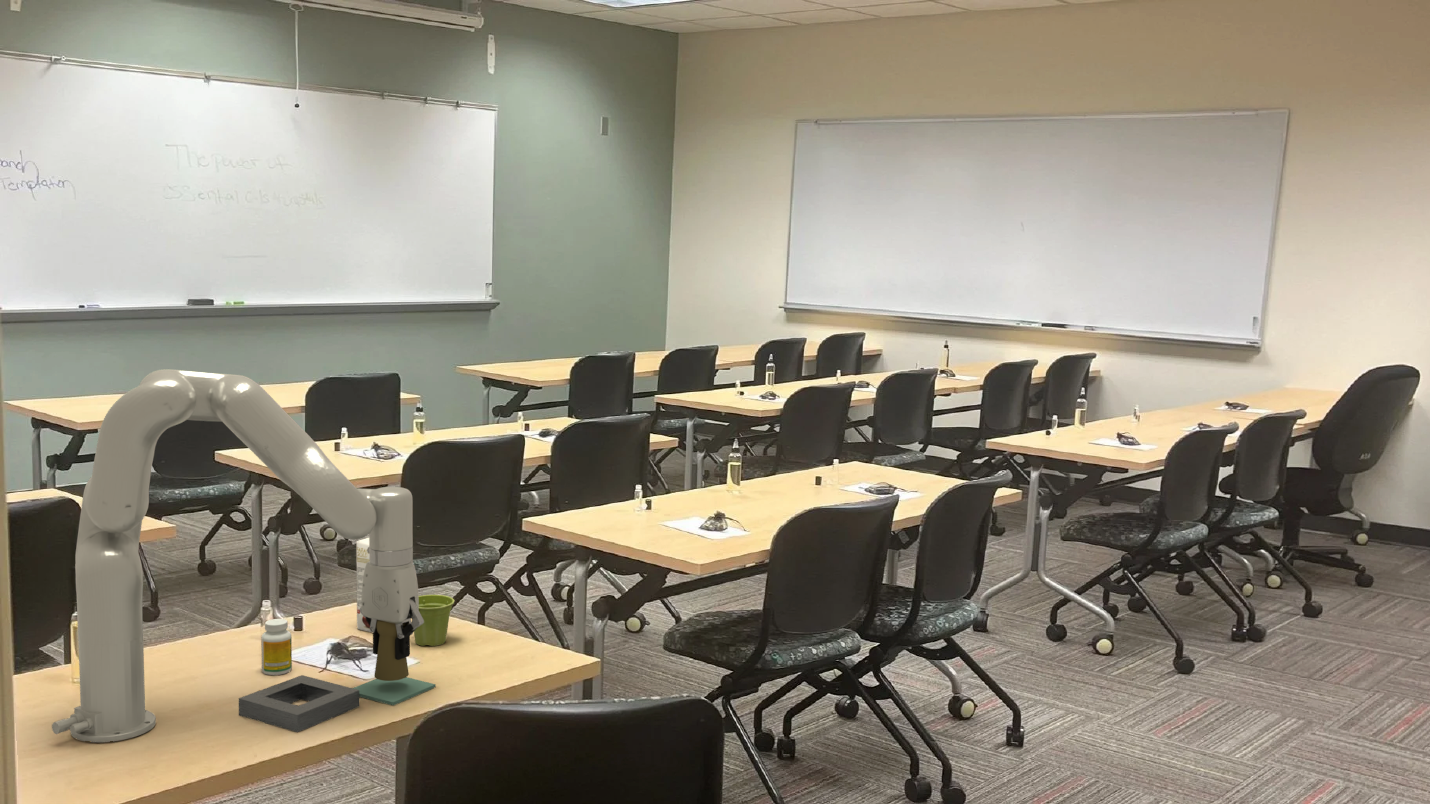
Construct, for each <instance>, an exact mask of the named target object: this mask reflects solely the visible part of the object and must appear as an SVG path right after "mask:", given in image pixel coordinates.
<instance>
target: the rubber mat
mask: <svg viewBox="0 0 1430 804" xmlns="http://www.w3.org/2000/svg"><path fill="white" fill-rule="evenodd" d="M434 687H435V688H436V684H435V683H432V682H427V681H425V680H420V679H416V678H412V677H409V676H407V677H406V678H403V679H400V680H394V681H383V680H379V679H376V678H375V679H372V680H369V681H367V682H365V683H361V684H359V685H356V686H354V687H352V688H353V689H357V690H359V694H360V698H363V699H366V700H369V701H374V702H378V703H381V704H386V705H389V706H395V705H398V704H400V703H403V702H406V701H407V700H409V699H412V698H414V697H417V696H420V695H421V694H423V693H426V692H428V691H430V690H433V689H435V688H434ZM432 688H433V689H432Z"/></svg>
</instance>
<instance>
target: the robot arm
mask: <svg viewBox="0 0 1430 804" xmlns="http://www.w3.org/2000/svg"><path fill="white" fill-rule="evenodd" d="M187 420H188V421H198V422H199V421H200V422H203V421H204V422H222V423H223V425H225V426H226V427H227V428H228V429H229V430H230V431H231V432H232V433H233V434H234V435H235V436H236V438H238V439H239V440H240V441H241V442H242V443H243V445H245V446H246V447H247V448H248V449H249V450H250V451H251V453H253V454H254V455H255V456H256V457H257V458H258V459H259V460H260V461H261V462H262V463H263V464H264V465H265V466H266V468H267V469H269V470H270V471H271V472H272V473H273V474H274V475H275V476H276V478H278V479H279V480H280V481H281V482H282V483H283V484H285V485H286V486H288V487H289V488H290V489H291V490H293V491H294V492H295V493H296V494H297V495H299V496H300V498H301V499H303V501H305V502H306V503H307V504H308V505H309V506H310V507H311V508H312V509H313V510H314V511H315V513H317V514H318V515H319V516H320V518H322V520H323V521H325V522H326V523H327V524H328V525H329V526H330V528H331V529H333V531H335V533H337V535H339V536H340V537H342V538H344V539H347V540H353V541H354V540H361V539H364V538H365V537H367V536H368V538H369V547H368V549H367V552H368V553H369V562H367V563H366V567H365V571H364V576H363V585H362V601H361V608H360V613H361V614H362V615H363V616H364V617H365V618H366V621H367V622H368V624H369V626H370V631H371V632H370V633H372V632H373V633H372V654H373V655H376V656H377V652H378V645H379V637H380V635H379V633H378V631H377V621H378V620H381V621H385V622H390V623H395V625H396V630H397V635H398V638H395V659H397V660H400V659H403V658H405V657H406V658H407V657H409V656H410V655H411V636H412V635H414V631H415V630H416V629H417V627H419V626H420V625H422V624H423V623H424V620H423V618H422V616H421V614H420V612H419V596H420V594H419V584H418V577H417V571H416V566H415V564H413V559H414V558H413V557H414V555H413V554H414V553H413V552H414V551H413V550H414V549H413V548H414V547H413V546H414V545H413V543H414V542H413V537H414V536H413V524H414V523H413V522H414V521H413V518H414V517H413V510H414V509H413V502H414V501H413V495H412V492H411V491H410V490H409V489H408V488H404V487H400V486H383V487H379V488H357V487H356V486H355V485H354V484H353V483H352V482H351V481H350V480H349V479H348V478H347V477H346V475H344V474H343V472H342V471H340V469H339V468H337V467H336V465H335V464H334V463H333V462H332V461H331V460H330V458H329V457H328V456H327V455H326V454H325V453H324V451H323V450H322V449H321V447H320V446H319V445H318V444H317V443H316V442H315V441H314V439H313V438H311V436H310V435H309V434H308V433H307V432H306V431H305V430H304V429H303V428H302V427H301V426H300V425H299V424H298V423H297V422H296V421H295V420H294V419H293V418H292V417H291V416H290V415H289V414H288V413H287V412H286V411H285V410H284V409H283V407H281V406H280V404H279V403H278V402H277V401H276V400H275V399H274V398H273V397H272V396H271V395H270V394H269V393H268V392H267V391H266V390H265V389H264V388H263V387H262V386H261V385H260V384H259V383H257V382H256V381H255V380H254V379H252V378H250V377H248V376H245V375H242V374H230V373H215V372H204V371H193V370H192V371H191V370H182V369H181V370H180V369H169V368H168V369H167V368H165V369H157V370H154V371H151V372H150V373H148V374H147V375H146V376H144V377H143V378H142V379H141V381H140V383H139V384H138V386H136V387H134V388H131V389H130V390H129V391H127V392H125V393H124V394H123V395H122V396H120V397H119V398H118V399H117V401H115V402H114V403H113V404H112V406H111V407H110V408H109V409H108V411H107V413H106V414H105V416H104V418H103V420H102V422H101V426H100V429H99V434H98V438H97V444H96V447H95V448H96V449H95V455H94V460H93V466H92V467H93V468H92V473H91V477H90V478H89V479H88V480H87V482H86V485H85V487H84V490H83V495H82V502H81V509H80V515H79V522H78V533H77V539H76V549H75V557H74V558H75V562H74V563H75V564H74V565H75V566H74V568H75V591H76V614H77V615H76V617H77V620H76V621H77V642H78V665H79V666H78V667H79V668H78V669H79V693H80V694H79V698H80V701H79V702H80V705H78V706H75V707H74V708H73V710H74V712H73V714H71V715H70V716H69V717H68V718H63V719H60V720H57V721H54V722H52V724H51V730H52V732H53V734H56V735H58V734H61V733H64V732H67V731H70V735H71V737H72V738H74V739H76V740H78V741H81V742H85V741H91V742H90V743H110V741H113V742H119V741H123V740H128V739H132V738H135V737H137V736H140V735H143V734H145V733H148V732H149V731H151V730H152V729H153V728H155V726H156V723H157V722H156V721H157V720H156V719H157V718H156V715H155V714H154V713H153V712H152V711H150V710H148V709H146V695H145V694H146V693H145V691H146V690H145V687H146V686H145V659H144V658H145V657H144V656H145V652H144V626H143V623H144V622H143V587H144V586H143V585H144V582H143V581H144V580H143V579H144V574H143V572H144V571H143V564H142V561H141V557H140V554H139V553H140V552H139V546H140V540H141V532H142V524H143V520H144V518H145V516H146V514H147V511H148V509H149V503H150V496H149V495H150V494H149V493H150V492H149V491H150V484H151V483H150V482H151V477H152V476H151V475H152V465H153V461H154V457H155V452H156V451H155V450H156V446H157V442H158V440H159V438H160V437H161V436H162V434H163V433H164V432H165V431H166V430H167V429H170V428H172V427H175V426H176V425H179V424H182V423H183V422H184V423H185V421H187ZM402 623H405V628H404V629H403V624H402Z"/></svg>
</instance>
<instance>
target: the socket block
mask: <svg viewBox="0 0 1430 804" xmlns="http://www.w3.org/2000/svg"><path fill="white" fill-rule="evenodd" d="M353 688H354V687H350V686H344V685H342V684H338V683H334V682H331V681H326V680H323V679H318V678H314V677H311V676H306V675H303V674H301V675H299V676H296V677H293V678H290V679H287V680H285V681H282V682H280V683H277V684H274V685H273V684H272V685H270V686H268V687H266V688H263V689H261V690H257V691H255V692H251V693H250V694H247V695H244V696H242V697H239V698H238V716H240V717H243V718H245V719H246V718H248V719H249V720H254V721H257V722H260V723H264V724H268V725H271V726H275V727H278V728H281V729H284V730H288V731H291V732H295V733H300V732H302V731H305V730H307V729H310V728H312V727H314V726H316V725H319V724H322V723H323V722H326V721H328V720H331V719H334V718H335V717H337V716H341V715H343V714H346V713H347V712H350V711H353V710H354V709H357V708H360V707H361V706H360V698H361V697H360V694H359V690H357V689H353ZM301 700H303V701H306V702H305V703H302V704H300V705H297V704H295V703H296V702H299V701H301ZM293 703H294V704H293Z"/></svg>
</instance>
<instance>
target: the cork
mask: <svg viewBox="0 0 1430 804" xmlns="http://www.w3.org/2000/svg"><path fill="white" fill-rule="evenodd" d="M402 624H403V629H404V628H405V623H402ZM377 631H378V633H379V635H380V637H379V645H378V652H377V655H376V660H375V668H374V669H375V670H374V678H375V679H379V680H383V681H394V680H400V679H403V678H406V677H409V676H410V673H409V667H408V659H407V657H405V658H403V659H400V660H397V659H395V638H398V635H397V630H396V625H395V623H390V622H385V621H381V620H378V621H377Z"/></svg>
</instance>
